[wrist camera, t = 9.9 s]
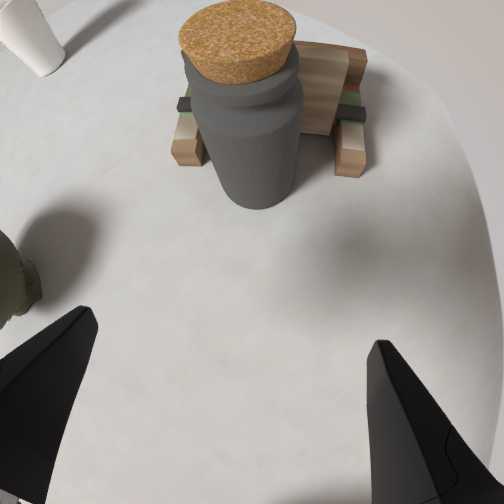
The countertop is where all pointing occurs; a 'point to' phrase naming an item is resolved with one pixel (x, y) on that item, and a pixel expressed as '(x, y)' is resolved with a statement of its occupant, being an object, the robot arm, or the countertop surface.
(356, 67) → the wooden rack
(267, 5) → the bottle
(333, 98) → the wooden flat panel
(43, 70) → the drinking glass
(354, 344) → the countertop surface
